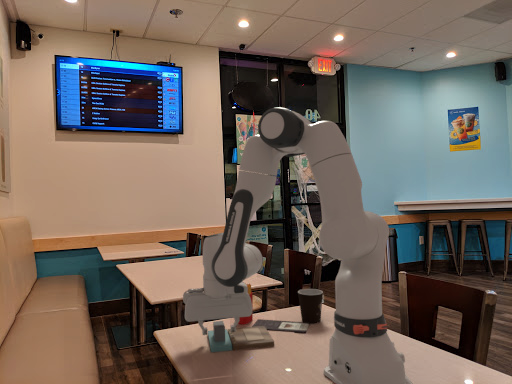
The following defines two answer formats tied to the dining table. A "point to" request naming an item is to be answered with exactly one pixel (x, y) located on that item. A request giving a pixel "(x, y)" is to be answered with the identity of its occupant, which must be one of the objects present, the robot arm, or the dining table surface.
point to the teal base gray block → (219, 338)
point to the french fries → (248, 319)
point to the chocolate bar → (283, 325)
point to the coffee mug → (310, 305)
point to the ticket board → (250, 338)
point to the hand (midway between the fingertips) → (219, 333)
